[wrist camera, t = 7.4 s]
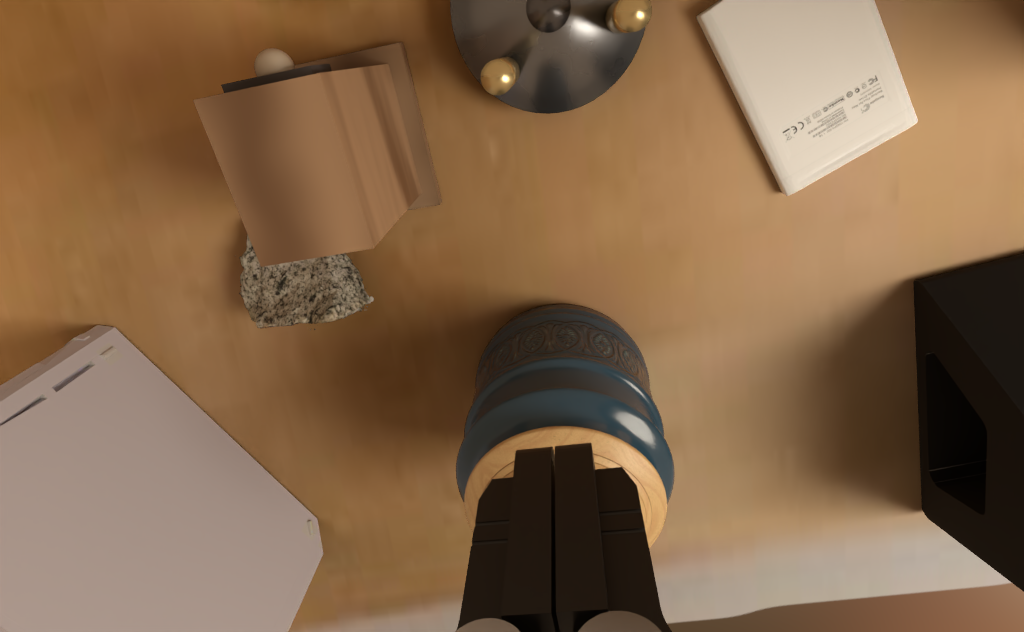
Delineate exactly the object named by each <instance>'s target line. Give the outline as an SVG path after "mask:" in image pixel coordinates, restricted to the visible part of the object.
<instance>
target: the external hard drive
mask: <svg viewBox="0 0 1024 632" xmlns="http://www.w3.org/2000/svg"><path fill="white" fill-rule="evenodd" d="M696 18H697V21H698V23H699V25H700V26H701V29H702V31H703V33H704V35H705V37H706V39H707V41H708V43H709V45H710V47H711V49H712V51H713V53H714V55H715V57H716V59H717V61H718V63H719V65H720V67H721V69H722V71H723V73H724V75H725V77H726V79H727V82H728V84H729V86H730V88H731V90H732V92H733V94H734V96H735V98H736V100H737V102H738V104H739V106H740V108H741V110H742V112H743V114H744V116H745V118H746V120H747V122H748V124H749V126H750V128H751V130H752V132H753V135H754V137H755V139H756V141H757V143H758V145H759V147H760V149H761V151H762V153H763V155H764V157H765V159H766V161H767V163H768V165H769V167H770V169H771V171H772V173H773V175H774V177H775V179H776V182H777V184H778V186H779V188H780V190H781V192H782V193H783V194H785V195H786V196H788V195H791V194H793V193H796V192H797V191H799V190H801V189H803V188H804V187H806V186H808V185H810V184H811V183H813V182H815V181H816V180H818V179H820V178H822V177H823V176H825V175H827V174H829V173H830V172H832V171H834V170H836V169H838V168H839V167H841V166H843V165H845V164H846V163H848V162H850V161H852V160H854V159H855V158H857V157H859V156H861V155H862V154H864V153H866V152H868V151H870V150H871V149H873V148H875V147H877V146H878V145H880V144H882V143H884V142H885V141H887V140H889V139H891V138H893V137H894V136H896V135H898V134H900V133H901V132H903V131H905V130H907V129H909V128H910V127H912V126H913V125H914V124H916V123H917V122H918V120H917V117H916V114H915V111H914V108H913V106H912V103H911V100H910V97H909V95H908V92H907V89H906V86H905V84H904V81H903V78H902V75H901V72H900V70H899V67H898V64H897V61H896V58H895V55H894V53H893V50H892V47H891V45H890V42H889V39H888V36H887V34H886V31H885V28H884V26H883V23H882V20H881V17H880V14H879V12H878V9H877V6H876V3H875V1H874V0H719V1H718V2H716V3H715V4H713V5H712V6H710V7H709V8H708V9H706V10H705V11H703V12H702V13H700V14H699V15H698V16H697V17H696Z"/></svg>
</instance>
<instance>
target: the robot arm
mask: <svg viewBox="0 0 1024 632" xmlns="http://www.w3.org/2000/svg"><path fill="white" fill-rule="evenodd" d="M455 632H672V631H671V630H670V628H669V627H668V625H667V623H666V621H665V619H664V617H663V615H662V611H661V607H660V603H659V597H658V592H657V587H656V582H655V577H654V572H653V566H652V561H651V556H650V551H649V546H648V541H647V535H646V531H645V525H644V520H643V515H642V510H641V504H640V499H639V494H638V489H637V485H636V484H635V483H634V481H633V480H632V479H631V478H630V476H629V475H628V474H627V473H626V471H625V470H624V469H623V468H622V467H616V468H605V469H595V463H594V456H593V449H592V443H581V444H571V445H561V446H555V454H554V450H553V447H542V448H532V449H522V450H516V453H515V461H514V472H513V477H509V478H498V479H492V480H491V482H490V483H489V485H488V486H487V488H486V489H485V491H484V492H483V494H482V495H481V497H480V498H479V501H478V507H477V513H476V520H475V527H474V532H473V538H472V546H471V551H470V557H469V564H468V570H467V576H466V583H465V589H464V595H463V601H462V608H461V614H460V620H459V624H458V628H457V630H456V631H455Z"/></svg>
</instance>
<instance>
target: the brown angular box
mask: <svg viewBox="0 0 1024 632" xmlns="http://www.w3.org/2000/svg"><path fill="white" fill-rule="evenodd" d="M254 67H255V72H256V75H257V77H255V78H251V79H246V80H241V81H237V82H232V83H227V84H223V85H221V86H222V88H223V91H224V93H223V94H219V95H214V96H209V97H205V98H200V99H195V100H193V102H194V104H195V107H196V109H197V112H198V114H199V116H200V119H201V121H202V124H203V126H204V129H205V131H206V134H207V136H208V138H209V141H210V143H211V146H212V148H213V151H214V153H215V156H216V158H217V160H218V163H219V165H220V168H221V170H222V173H223V175H224V178H225V180H226V182H227V185H228V187H229V190H230V192H231V195H232V197H233V200H234V202H235V205H236V207H237V209H238V212H239V214H240V217H241V219H242V222H243V224H244V227H245V229H246V231H247V234H248V236H249V239H250V241H251V244H252V246H253V249H254V251H255V253H256V256H257V258H258V261H259V263H260V266H261V267H264V266H270V265H276V264H282V263H288V262H294V261H300V260H306V259H312V258H319V257H325V256H331V255H337V254H343V253H349V252H355V251H361V250H367V249H373V248H374V247H375V246H376V245H377V244H378V243H379V242H380V240H381V239H382V238H383V237H384V236H385V235H386V234H387V232H388V231H389V230H390V229H391V228H392V227H393V226H394V224H395V223H396V222H397V221H398V220H399V219H400V217H401V216H402V215H403V214H404V213H405V212H406V211H407V210H412V209H418V208H424V207H430V206H436V205H440V204H441V203H442V199H441V195H440V191H439V187H438V183H437V179H436V175H435V171H434V167H433V163H432V158H431V154H430V150H429V146H428V142H427V138H426V134H425V130H424V126H423V122H422V118H421V114H420V110H419V106H418V102H417V97H416V93H415V89H414V85H413V81H412V77H411V73H410V69H409V65H408V61H407V57H406V53H405V49H404V45H403V42H399V43H394V44H390V45H385V46H380V47H376V48H371V49H367V50H362V51H358V52H353V53H348V54H344V55H339V56H335V57H330V58H325V59H321V60H316V61H312V62H307V63H303V64H298V65H294V62H293V61H292V59H291V58H290V56H289V55H287V54H286V53H285V52H283V51H281V50H279V49H275V48H269V49H265V50H263V51H261V52H260V53H259V54H258V56H257V57H256V59H255V64H254Z"/></svg>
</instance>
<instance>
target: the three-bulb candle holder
mask: <svg viewBox="0 0 1024 632" xmlns="http://www.w3.org/2000/svg"><path fill="white" fill-rule="evenodd" d="M450 5H451V20H452V27H453V31H454V35H455V40H456V42H457V45H458V48H459V51H460V53H461V55H462V57H463V59H464V61H465V63H466V65H467V67H468V68H469V70H470V71H471V73H472V74H473V76H474V77H475V78H476V79H477V80H478V81H479V83H480V84H481V85H482V86H483V87H484V89H485V90H486V91H487V92H488V93H490V94H492V95H494V96H495V97H497V98H498V99H499V100H501V101H503V102H505V103H507V104H509V105H511V106H512V107H515V108H518V109H521V110H524V111H529V112H534V113H559V112H564V111H568V110H572V109H575V108H578V107H581V106H583V105H585V104H587V103H589V102H591V101H593V100H595V99H596V98H597V97H599V96H600V95H602V94H603V93H605V92H606V91H607V90H608V89H609V88H610V87H611V86H612V85H613V84H615V82H616V81H617V80H618V79H619V78H620V77H621V76H622V74H623V73H624V72H625V70H626V69H627V67H628V66H629V64H630V63H631V61H632V60H633V58H634V56H635V54H636V52H637V50H638V48H639V45H640V42H641V40H642V37H643V34H644V30H645V26H646V25H647V23H648V22H649V20H650V18H651V14H652V6H651V3H650V1H649V0H450Z"/></svg>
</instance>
